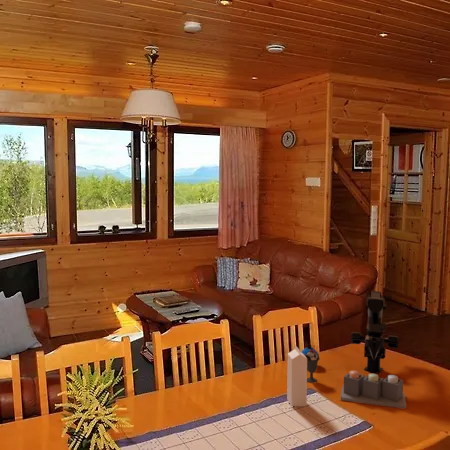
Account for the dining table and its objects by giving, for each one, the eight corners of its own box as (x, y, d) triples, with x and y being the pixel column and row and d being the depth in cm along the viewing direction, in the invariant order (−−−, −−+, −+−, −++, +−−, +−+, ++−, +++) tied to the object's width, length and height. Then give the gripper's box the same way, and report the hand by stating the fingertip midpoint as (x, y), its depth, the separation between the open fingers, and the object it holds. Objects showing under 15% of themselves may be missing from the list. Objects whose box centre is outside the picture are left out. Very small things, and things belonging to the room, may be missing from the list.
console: (342, 388, 199) (343, 369, 198) (404, 396, 191) (405, 376, 191) (340, 400, 188) (341, 380, 187) (405, 408, 181) (406, 388, 180)
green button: (370, 382, 191) (370, 372, 191) (379, 385, 189) (379, 375, 188) (366, 385, 188) (367, 375, 188) (375, 388, 186) (376, 378, 186)
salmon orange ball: (351, 379, 194) (352, 369, 194) (360, 381, 192) (360, 372, 192) (347, 382, 191) (348, 372, 191) (356, 384, 189) (356, 375, 189)
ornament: (319, 363, 226) (320, 342, 225) (317, 370, 217) (317, 348, 216) (301, 361, 228) (301, 340, 227) (298, 367, 220) (298, 346, 219)
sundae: (318, 377, 209) (319, 344, 208) (319, 384, 203) (320, 349, 201) (303, 376, 210) (303, 343, 208) (304, 383, 203) (304, 349, 202)
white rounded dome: (389, 383, 190) (390, 374, 189) (399, 386, 188) (399, 376, 187) (386, 387, 187) (386, 377, 187) (395, 389, 185) (395, 379, 184)
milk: (301, 399, 189) (302, 344, 187) (306, 406, 183) (307, 350, 181) (286, 400, 188) (287, 345, 186) (291, 407, 182) (292, 350, 180)
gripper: (351, 313, 202) (349, 347, 192) (399, 317, 196) (399, 352, 187) (352, 326, 210) (350, 359, 200) (397, 330, 204) (397, 364, 195)
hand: (373, 358), depth 195 cm, fingers closed
